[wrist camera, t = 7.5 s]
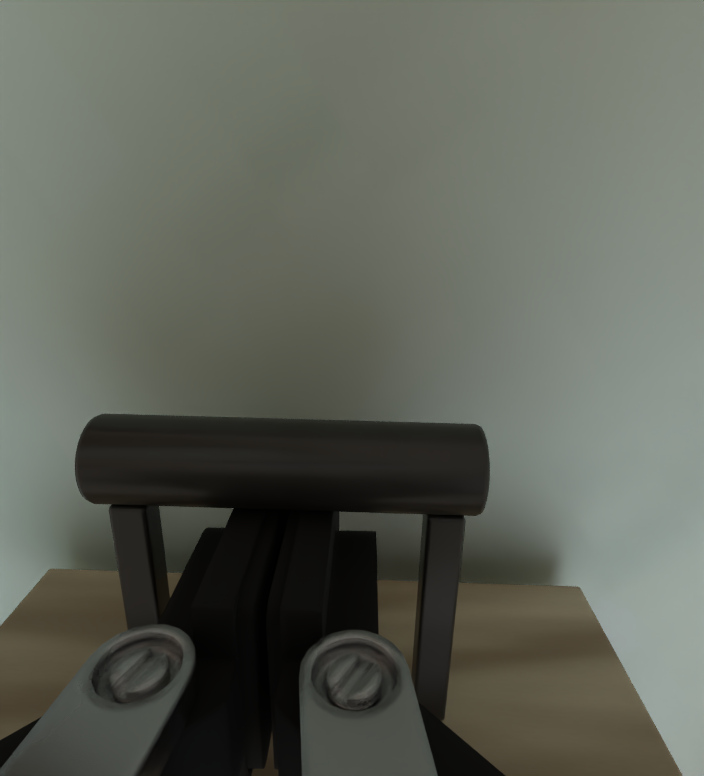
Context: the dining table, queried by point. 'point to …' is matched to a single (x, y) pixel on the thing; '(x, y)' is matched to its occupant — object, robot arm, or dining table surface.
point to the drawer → (395, 598)
